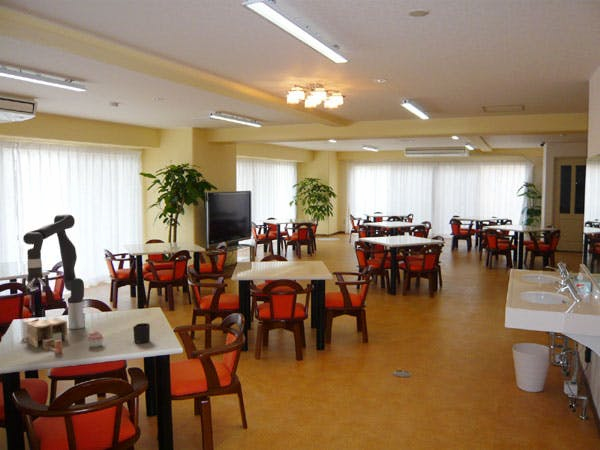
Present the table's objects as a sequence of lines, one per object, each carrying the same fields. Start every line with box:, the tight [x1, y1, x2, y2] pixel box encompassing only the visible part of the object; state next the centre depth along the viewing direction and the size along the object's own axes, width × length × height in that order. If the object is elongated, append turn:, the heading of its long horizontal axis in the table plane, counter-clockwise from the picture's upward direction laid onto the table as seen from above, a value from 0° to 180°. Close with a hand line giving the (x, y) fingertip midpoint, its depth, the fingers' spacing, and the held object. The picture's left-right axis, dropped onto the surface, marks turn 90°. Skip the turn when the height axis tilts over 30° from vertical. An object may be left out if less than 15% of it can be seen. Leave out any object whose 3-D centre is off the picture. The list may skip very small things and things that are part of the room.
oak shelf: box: [27, 316, 68, 348], centre depth 316 cm, size 18×14×12 cm
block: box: [52, 331, 63, 341], centre depth 319 cm, size 5×5×5 cm
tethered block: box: [42, 338, 63, 355], centre depth 300 cm, size 5×18×7 cm, turn 45°
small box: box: [21, 318, 40, 339], centre depth 328 cm, size 8×6×10 cm
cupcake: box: [86, 329, 105, 349], centre depth 307 cm, size 9×9×10 cm
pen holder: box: [132, 322, 151, 345], centre depth 315 cm, size 9×9×10 cm
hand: (36, 293), depth 312 cm, fingers open, 8 cm apart
